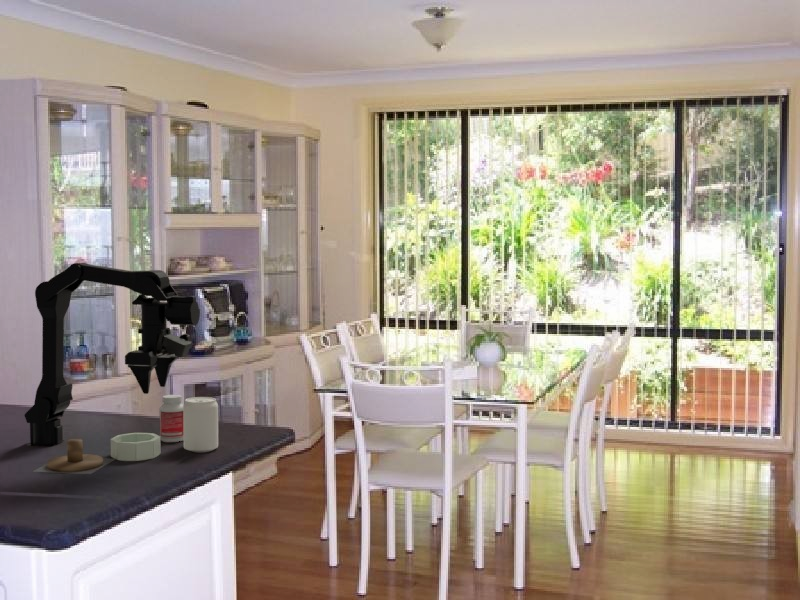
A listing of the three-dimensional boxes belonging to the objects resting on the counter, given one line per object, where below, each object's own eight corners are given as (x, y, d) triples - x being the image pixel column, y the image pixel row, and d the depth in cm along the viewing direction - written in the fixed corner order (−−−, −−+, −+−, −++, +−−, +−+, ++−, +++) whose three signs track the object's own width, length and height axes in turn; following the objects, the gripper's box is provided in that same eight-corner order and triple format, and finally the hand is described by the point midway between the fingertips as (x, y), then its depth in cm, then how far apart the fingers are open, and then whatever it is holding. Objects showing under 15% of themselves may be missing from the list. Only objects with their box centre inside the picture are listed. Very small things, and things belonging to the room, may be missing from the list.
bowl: (105, 462, 210) (104, 442, 210) (123, 451, 220) (123, 432, 220) (148, 464, 209) (148, 443, 208) (165, 453, 219) (165, 433, 218)
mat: (32, 474, 199) (32, 471, 199) (61, 459, 212) (61, 456, 212) (90, 476, 198) (90, 474, 198) (116, 461, 211) (116, 458, 211)
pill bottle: (189, 441, 231) (188, 396, 230) (164, 444, 228) (164, 399, 227) (180, 436, 236) (179, 392, 235) (156, 439, 233) (155, 395, 232)
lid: (36, 470, 200) (36, 445, 200) (62, 457, 212) (62, 433, 211) (88, 473, 199) (88, 447, 198) (111, 459, 210) (111, 435, 210)
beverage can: (188, 454, 217) (188, 403, 216) (179, 447, 225) (179, 398, 224) (222, 451, 221) (222, 401, 220) (212, 444, 228) (212, 395, 227)
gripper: (170, 329, 208) (170, 398, 210) (201, 321, 227) (201, 384, 228) (123, 328, 210) (124, 396, 212) (158, 319, 229) (158, 382, 230)
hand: (154, 390), depth 220 cm, fingers open, 9 cm apart
